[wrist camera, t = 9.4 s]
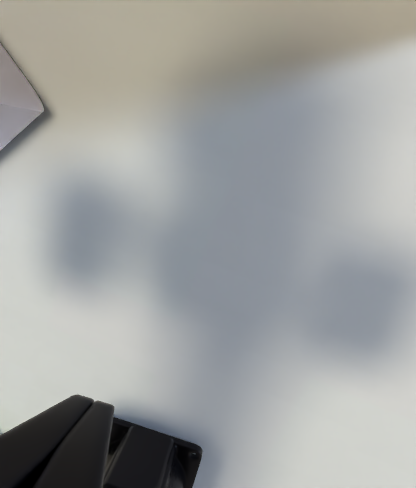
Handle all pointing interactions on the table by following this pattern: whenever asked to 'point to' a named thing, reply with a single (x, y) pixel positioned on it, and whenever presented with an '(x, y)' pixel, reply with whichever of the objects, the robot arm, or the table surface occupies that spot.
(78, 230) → the table surface
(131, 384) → the table surface
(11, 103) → the charger
